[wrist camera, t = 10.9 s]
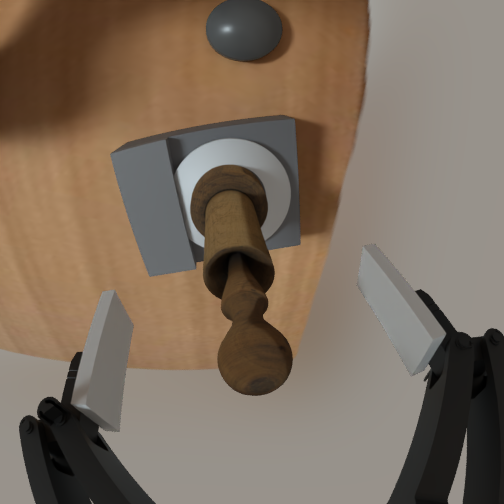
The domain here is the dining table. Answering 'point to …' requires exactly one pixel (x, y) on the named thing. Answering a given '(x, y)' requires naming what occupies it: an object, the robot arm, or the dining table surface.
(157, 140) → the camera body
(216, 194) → the brown wooden pepper mill
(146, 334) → the dining table surface
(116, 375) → the robot arm
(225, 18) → the dark grey dome
